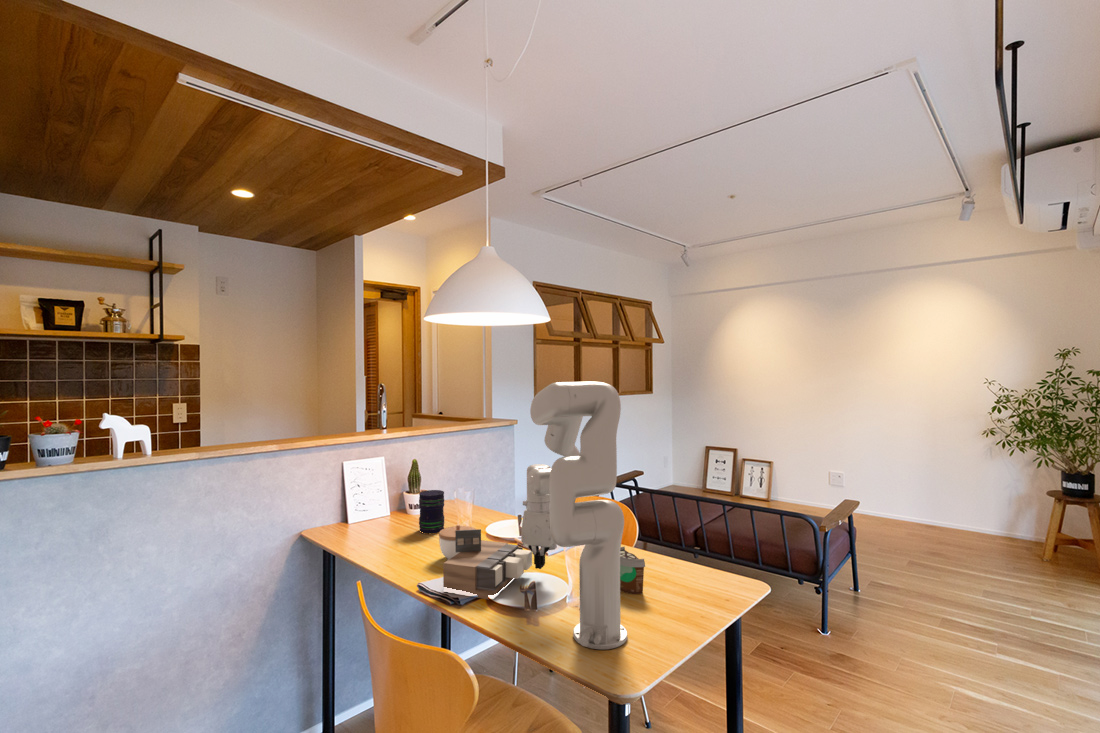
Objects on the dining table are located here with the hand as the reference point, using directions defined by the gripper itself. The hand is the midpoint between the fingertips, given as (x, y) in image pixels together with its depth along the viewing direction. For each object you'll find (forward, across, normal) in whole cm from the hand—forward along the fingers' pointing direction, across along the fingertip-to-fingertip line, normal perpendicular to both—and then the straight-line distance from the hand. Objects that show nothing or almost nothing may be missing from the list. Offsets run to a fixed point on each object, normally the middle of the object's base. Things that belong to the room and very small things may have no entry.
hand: (539, 567), depth 157 cm
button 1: (+1, -9, -14) cm, 17 cm away
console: (+4, -15, -7) cm, 17 cm away
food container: (+4, +26, +1) cm, 26 cm away
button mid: (+1, -6, -7) cm, 9 cm away
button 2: (0, -6, 0) cm, 6 cm away
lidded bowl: (+4, -32, +8) cm, 33 cm away
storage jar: (+4, -58, +33) cm, 67 cm away
